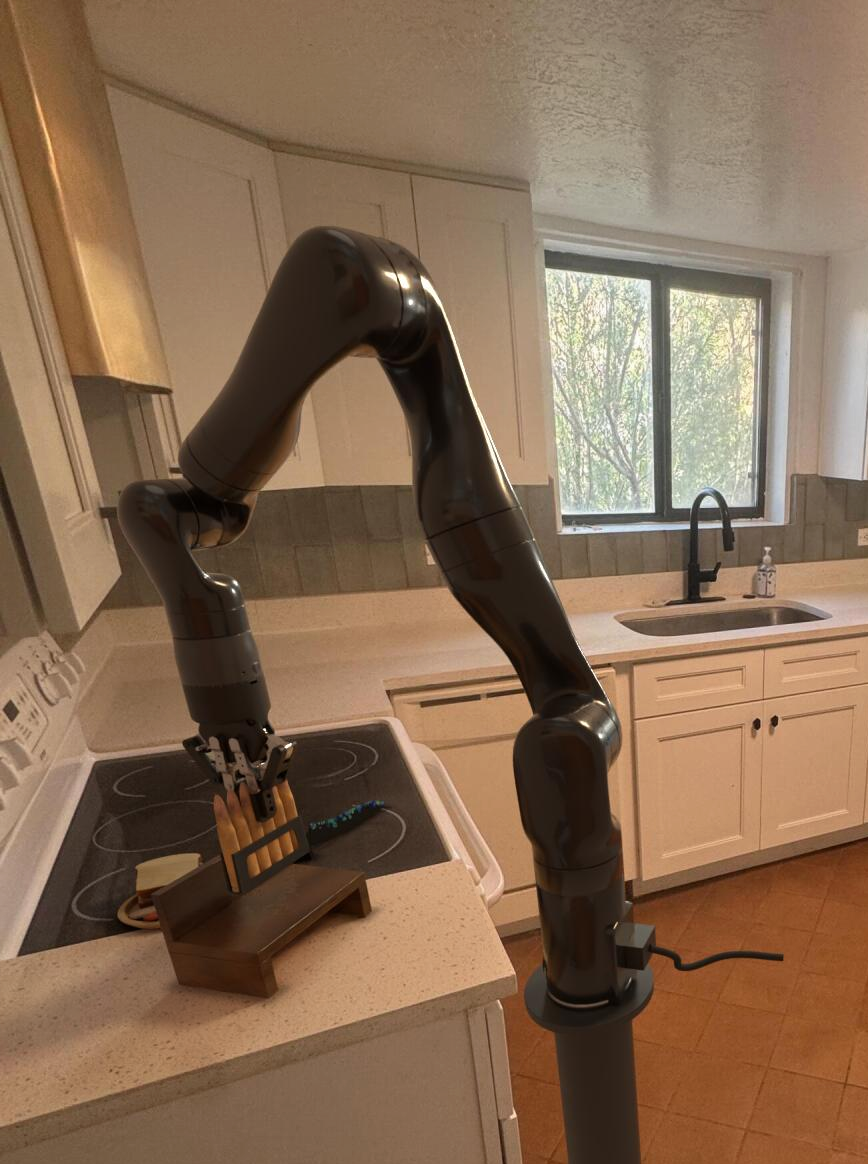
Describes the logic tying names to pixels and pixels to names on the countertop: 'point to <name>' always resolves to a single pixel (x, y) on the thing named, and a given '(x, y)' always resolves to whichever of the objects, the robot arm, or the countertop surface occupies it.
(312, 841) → the knife
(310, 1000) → the countertop surface
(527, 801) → the robot arm
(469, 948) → the countertop surface
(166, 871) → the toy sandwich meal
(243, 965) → the wooden bench
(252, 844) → the ammunition clip
